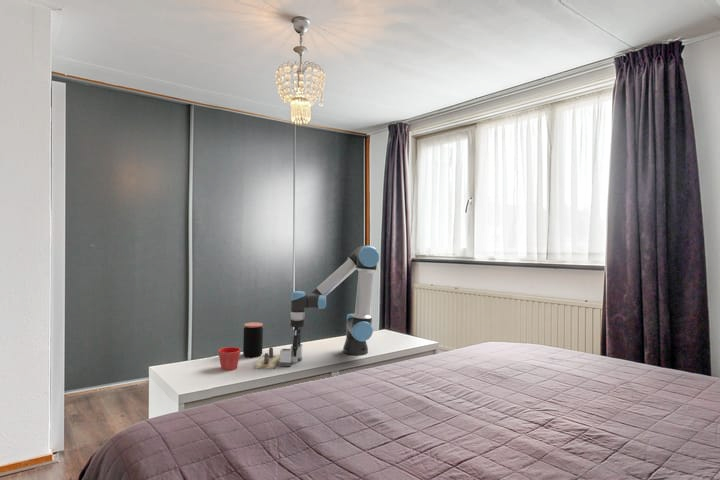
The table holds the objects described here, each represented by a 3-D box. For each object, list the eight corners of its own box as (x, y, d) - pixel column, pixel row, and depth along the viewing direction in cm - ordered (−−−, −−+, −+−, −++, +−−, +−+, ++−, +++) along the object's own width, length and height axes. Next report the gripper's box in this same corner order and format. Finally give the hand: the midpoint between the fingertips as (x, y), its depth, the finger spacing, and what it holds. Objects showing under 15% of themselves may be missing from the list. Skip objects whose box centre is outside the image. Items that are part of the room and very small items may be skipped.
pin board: (281, 358, 240) (281, 345, 240) (274, 368, 220) (274, 355, 220) (263, 357, 240) (263, 345, 240) (254, 368, 220) (255, 354, 220)
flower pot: (228, 373, 211) (228, 353, 211) (213, 369, 217) (214, 350, 217) (244, 368, 220) (245, 349, 220) (230, 364, 226) (230, 345, 226)
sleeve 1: (292, 363, 229) (292, 348, 230) (290, 366, 224) (291, 350, 224) (281, 363, 230) (282, 348, 230) (279, 366, 224) (280, 350, 224)
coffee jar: (266, 354, 246) (266, 323, 246) (254, 359, 236) (254, 326, 236) (251, 352, 251) (252, 321, 251) (239, 356, 241) (239, 324, 241)
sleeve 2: (302, 358, 240) (302, 344, 240) (300, 361, 234) (301, 347, 234) (291, 358, 240) (292, 344, 240) (290, 361, 234) (290, 346, 234)
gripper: (293, 315, 247) (292, 354, 247) (287, 322, 225) (286, 365, 225) (306, 316, 247) (305, 354, 247) (301, 322, 226) (300, 365, 225)
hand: (296, 359), depth 236 cm, fingers open, 9 cm apart
